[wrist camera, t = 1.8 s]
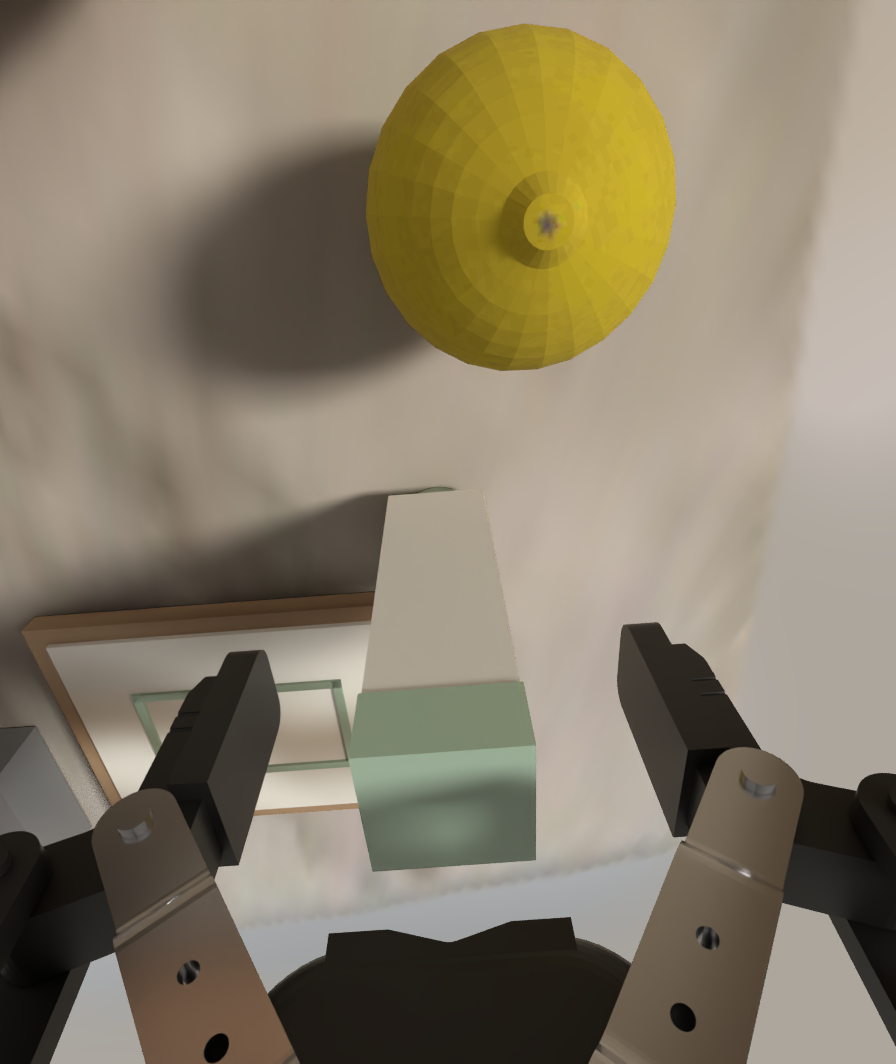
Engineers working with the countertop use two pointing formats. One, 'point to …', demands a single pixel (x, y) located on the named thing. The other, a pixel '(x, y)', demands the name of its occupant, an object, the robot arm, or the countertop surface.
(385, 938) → the robot arm
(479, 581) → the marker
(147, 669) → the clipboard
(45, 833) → the button housing
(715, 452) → the countertop surface
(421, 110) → the lemon
